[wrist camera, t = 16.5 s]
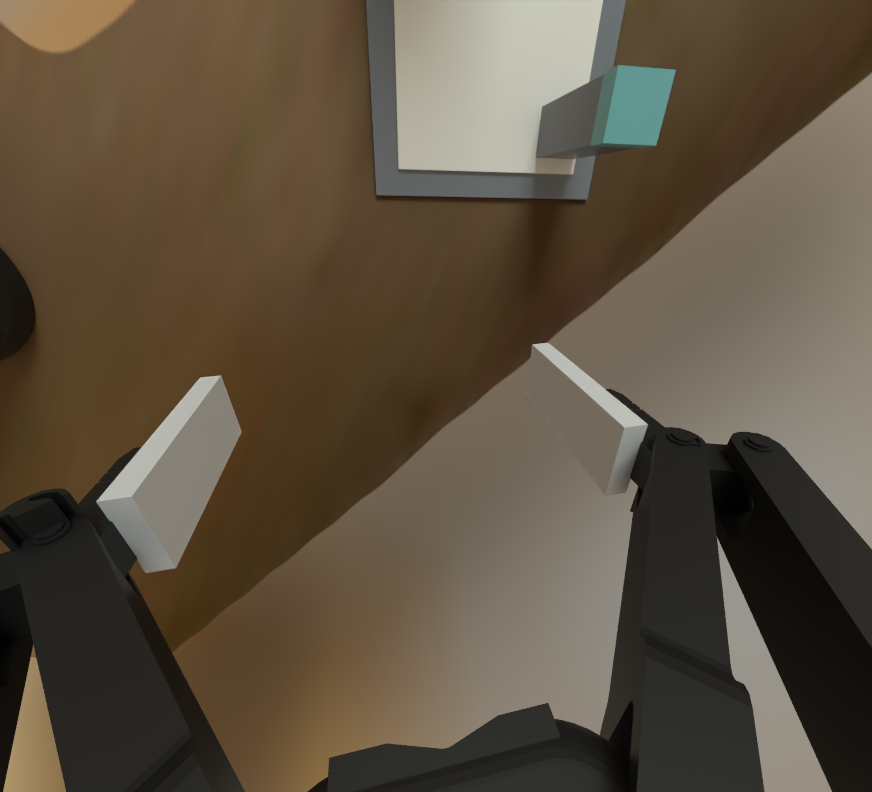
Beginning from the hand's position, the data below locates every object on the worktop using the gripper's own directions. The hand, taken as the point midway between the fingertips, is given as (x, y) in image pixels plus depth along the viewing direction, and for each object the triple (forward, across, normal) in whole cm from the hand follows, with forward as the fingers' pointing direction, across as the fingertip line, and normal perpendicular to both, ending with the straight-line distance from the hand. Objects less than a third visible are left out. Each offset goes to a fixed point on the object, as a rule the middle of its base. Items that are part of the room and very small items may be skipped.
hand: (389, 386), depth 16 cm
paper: (+23, -12, -14) cm, 29 cm away
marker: (+22, -17, -11) cm, 30 cm away
